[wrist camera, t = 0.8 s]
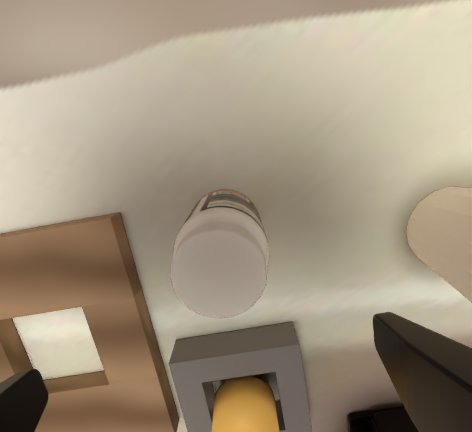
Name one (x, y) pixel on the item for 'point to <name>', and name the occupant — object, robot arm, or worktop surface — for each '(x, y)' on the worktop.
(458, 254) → the white cup
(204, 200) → the pill bottle
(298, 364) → the button collar
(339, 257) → the worktop surface
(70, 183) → the worktop surface
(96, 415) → the brown wooden rectangular frame
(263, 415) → the button
